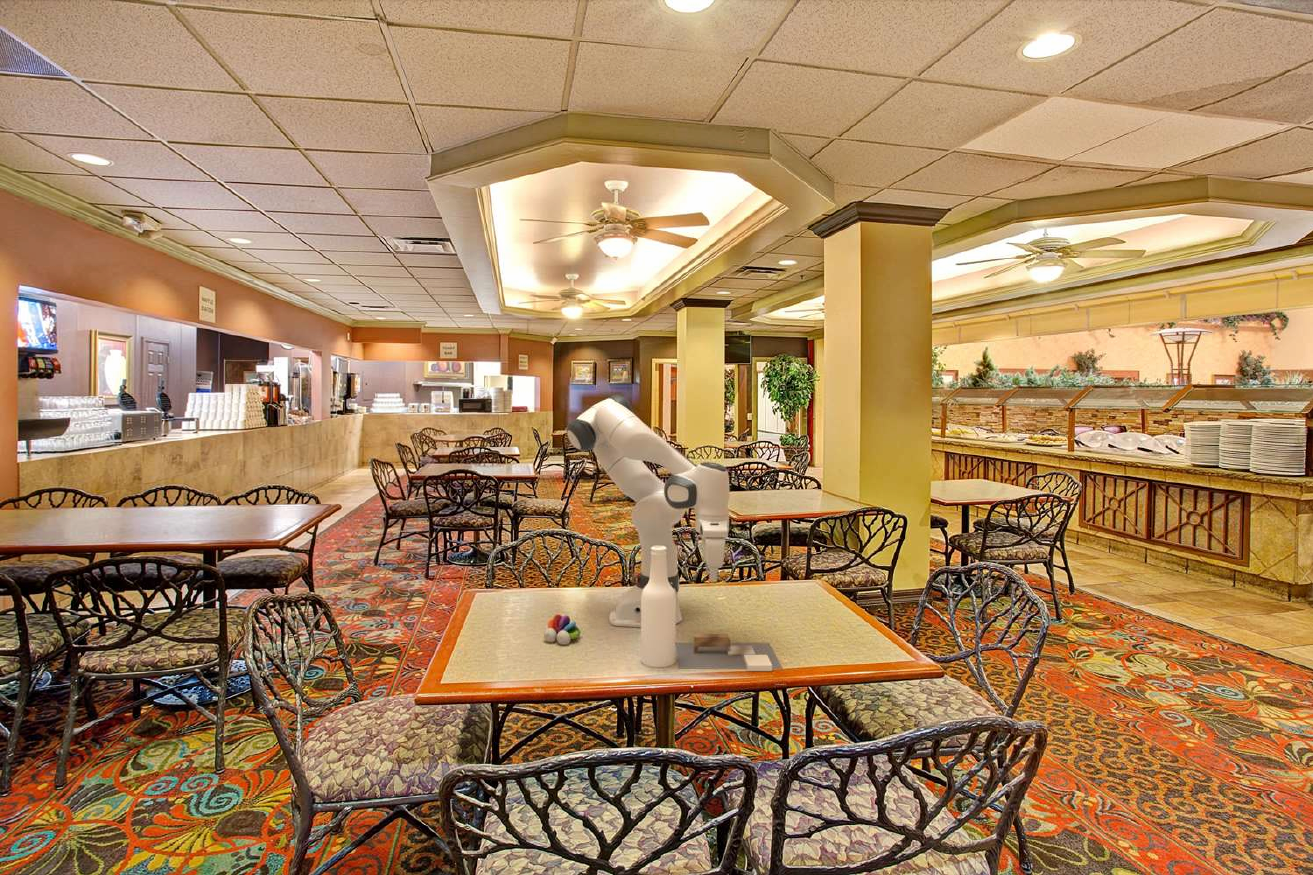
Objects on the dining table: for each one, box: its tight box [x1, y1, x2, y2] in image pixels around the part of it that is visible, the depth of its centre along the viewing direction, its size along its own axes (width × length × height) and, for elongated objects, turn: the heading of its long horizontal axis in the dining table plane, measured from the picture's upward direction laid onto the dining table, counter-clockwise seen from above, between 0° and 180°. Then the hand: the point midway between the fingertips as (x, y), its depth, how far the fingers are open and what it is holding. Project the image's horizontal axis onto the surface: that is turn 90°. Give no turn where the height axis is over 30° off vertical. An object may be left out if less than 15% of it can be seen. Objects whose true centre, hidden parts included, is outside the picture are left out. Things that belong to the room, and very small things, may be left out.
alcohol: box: [640, 546, 677, 669], centre depth 167 cm, size 9×9×30 cm
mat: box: [675, 642, 783, 670], centre depth 172 cm, size 26×18×1 cm
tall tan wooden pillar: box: [693, 633, 755, 656], centre depth 174 cm, size 16×6×4 cm, turn 91°
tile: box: [744, 655, 773, 672], centre depth 165 cm, size 6×2×7 cm
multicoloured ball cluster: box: [543, 614, 582, 646], centre depth 184 cm, size 8×10×7 cm
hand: (711, 576), depth 173 cm, fingers open, 8 cm apart
